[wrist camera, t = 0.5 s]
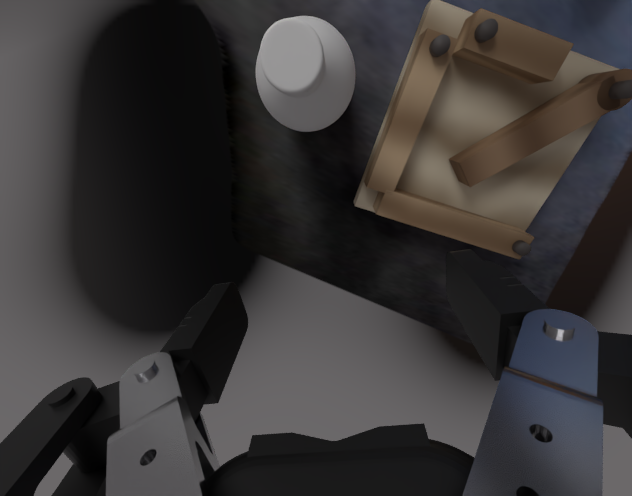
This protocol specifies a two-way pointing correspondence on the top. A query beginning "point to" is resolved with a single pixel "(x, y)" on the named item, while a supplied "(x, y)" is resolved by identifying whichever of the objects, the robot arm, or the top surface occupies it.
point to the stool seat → (471, 127)
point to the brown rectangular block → (544, 125)
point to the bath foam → (305, 73)
